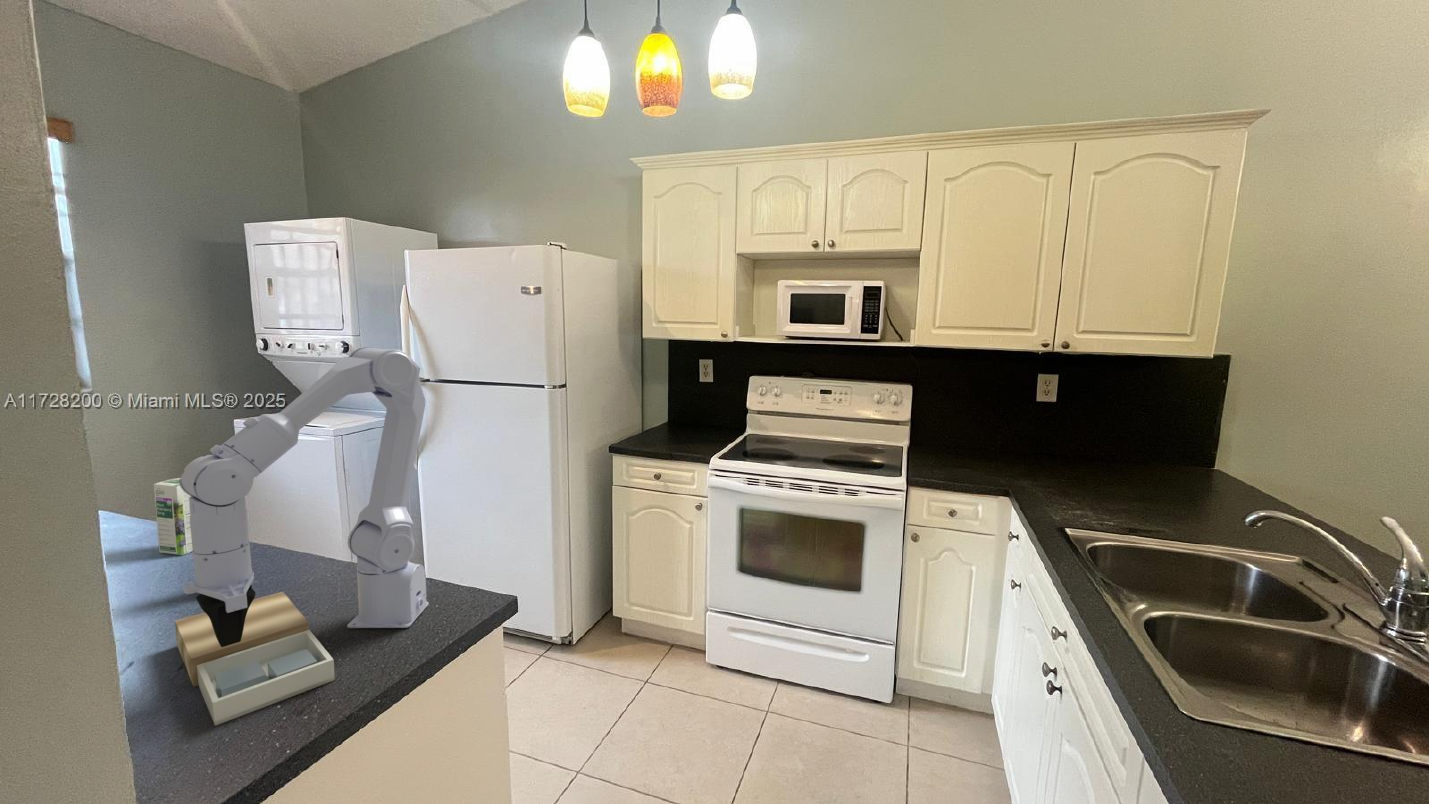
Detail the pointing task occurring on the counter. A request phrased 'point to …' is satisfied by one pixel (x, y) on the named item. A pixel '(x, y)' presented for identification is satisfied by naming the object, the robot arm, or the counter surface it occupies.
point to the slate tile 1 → (239, 678)
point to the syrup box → (173, 518)
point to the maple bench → (261, 626)
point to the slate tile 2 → (290, 663)
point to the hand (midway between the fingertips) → (230, 642)
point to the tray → (272, 688)
